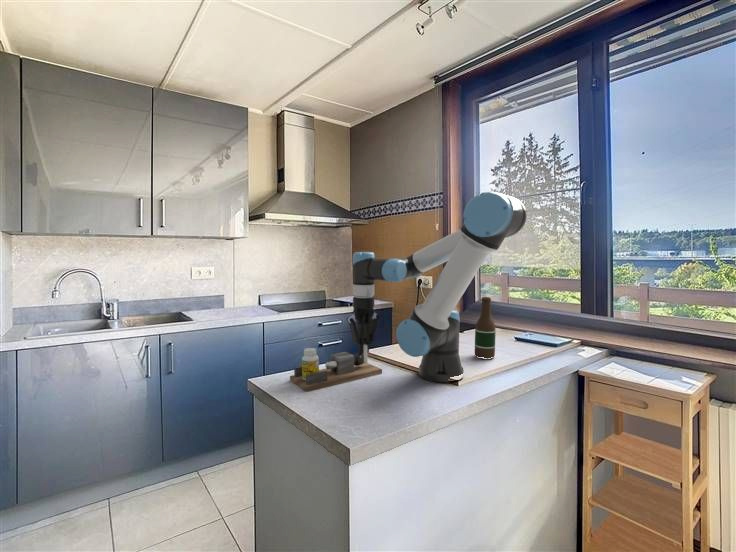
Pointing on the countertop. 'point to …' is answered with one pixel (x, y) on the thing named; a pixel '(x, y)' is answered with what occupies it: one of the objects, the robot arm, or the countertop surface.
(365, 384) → the countertop surface
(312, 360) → the supplement bottle
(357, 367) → the base
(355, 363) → the shaft
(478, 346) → the beer bottle
